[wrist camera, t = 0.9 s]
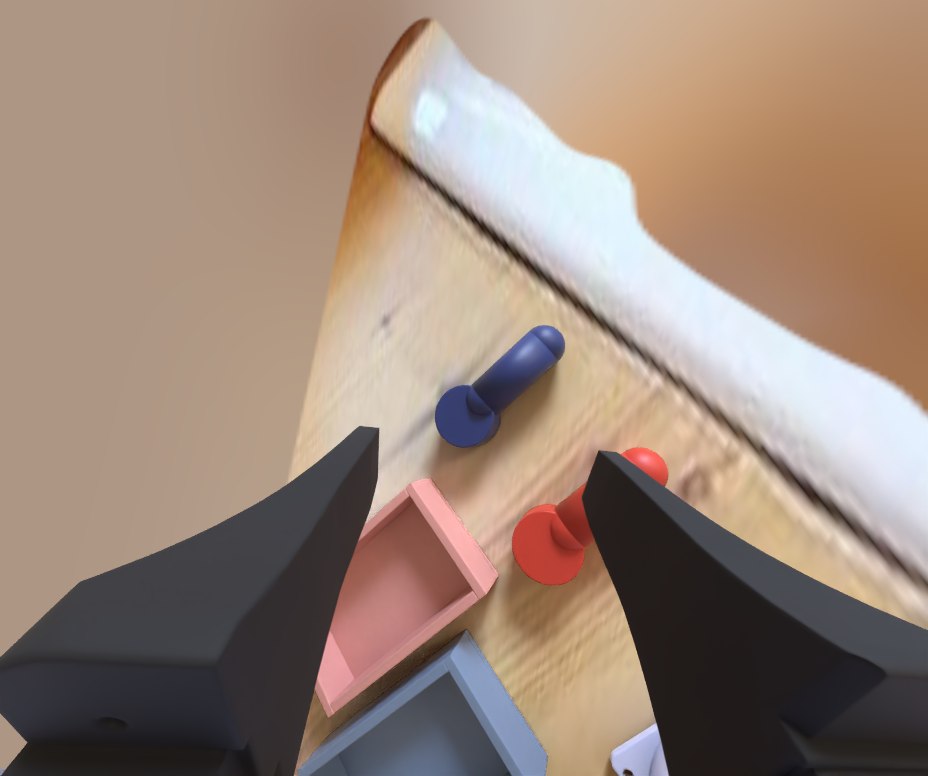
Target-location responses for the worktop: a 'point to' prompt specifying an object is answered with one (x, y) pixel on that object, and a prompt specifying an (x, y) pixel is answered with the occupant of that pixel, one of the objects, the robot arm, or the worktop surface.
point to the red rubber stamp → (567, 529)
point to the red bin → (400, 590)
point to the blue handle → (497, 389)
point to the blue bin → (435, 726)
